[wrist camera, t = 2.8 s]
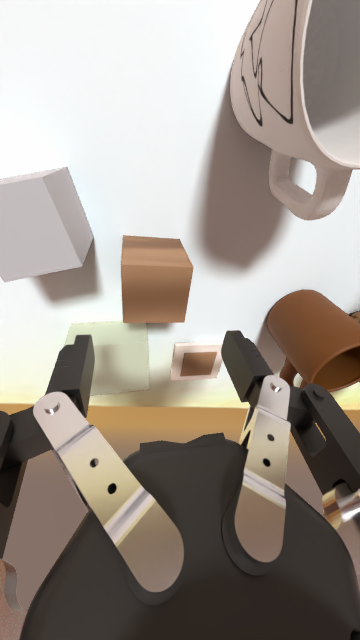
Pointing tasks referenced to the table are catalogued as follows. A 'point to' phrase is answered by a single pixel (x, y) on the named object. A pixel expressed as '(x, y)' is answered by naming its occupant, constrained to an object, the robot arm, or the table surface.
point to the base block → (116, 355)
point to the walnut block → (154, 280)
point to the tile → (196, 360)
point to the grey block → (41, 225)
